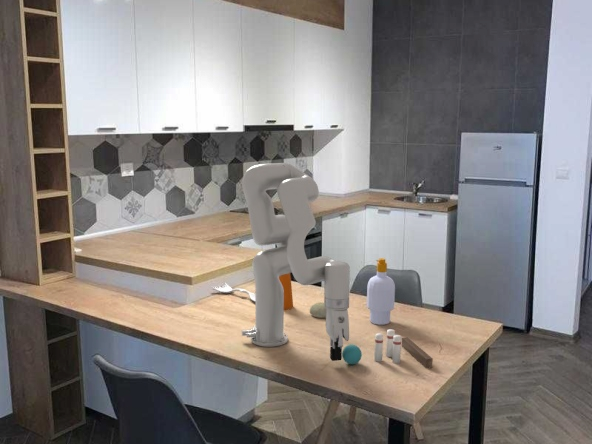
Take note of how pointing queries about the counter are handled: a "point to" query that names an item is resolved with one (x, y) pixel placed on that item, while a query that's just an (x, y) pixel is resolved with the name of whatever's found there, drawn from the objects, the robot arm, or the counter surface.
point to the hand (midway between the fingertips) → (335, 359)
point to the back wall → (417, 352)
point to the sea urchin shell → (318, 310)
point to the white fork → (228, 289)
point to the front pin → (378, 347)
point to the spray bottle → (287, 290)
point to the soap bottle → (380, 295)
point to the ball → (351, 354)
